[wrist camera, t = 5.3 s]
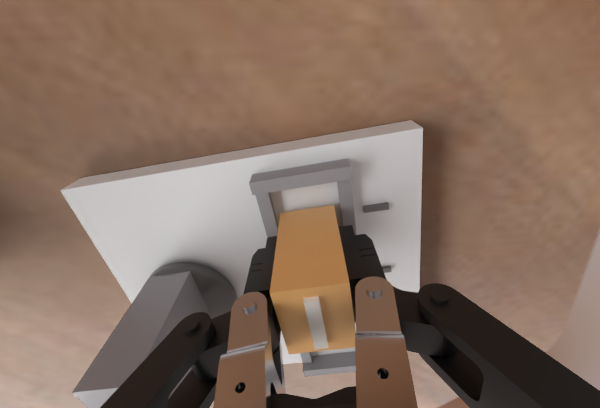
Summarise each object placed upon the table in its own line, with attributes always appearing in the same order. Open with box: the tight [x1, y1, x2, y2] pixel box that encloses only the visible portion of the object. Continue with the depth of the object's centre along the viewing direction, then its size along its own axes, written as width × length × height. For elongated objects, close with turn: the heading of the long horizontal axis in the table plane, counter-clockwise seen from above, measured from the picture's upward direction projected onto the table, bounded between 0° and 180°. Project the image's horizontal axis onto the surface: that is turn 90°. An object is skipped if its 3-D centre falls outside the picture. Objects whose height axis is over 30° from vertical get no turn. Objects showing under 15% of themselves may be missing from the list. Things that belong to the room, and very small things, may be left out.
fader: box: [270, 205, 356, 354], centre depth 12 cm, size 3×3×5 cm
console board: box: [60, 120, 423, 377], centre depth 17 cm, size 15×17×2 cm
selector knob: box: [72, 262, 237, 408], centre depth 14 cm, size 5×5×7 cm
